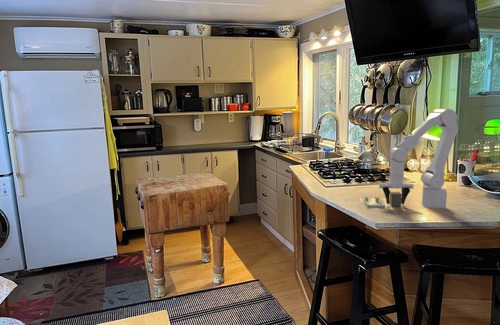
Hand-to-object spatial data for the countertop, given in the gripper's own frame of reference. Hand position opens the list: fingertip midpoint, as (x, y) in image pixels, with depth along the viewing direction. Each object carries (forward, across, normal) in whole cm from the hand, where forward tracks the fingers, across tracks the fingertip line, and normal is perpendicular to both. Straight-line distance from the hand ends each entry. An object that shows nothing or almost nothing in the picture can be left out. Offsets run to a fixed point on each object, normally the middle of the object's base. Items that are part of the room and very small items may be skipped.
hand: (395, 203), depth 168 cm
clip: (+1, -9, +7) cm, 11 cm away
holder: (+1, -9, 0) cm, 9 cm away
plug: (+1, 0, +4) cm, 4 cm away
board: (+1, -6, +3) cm, 7 cm away
